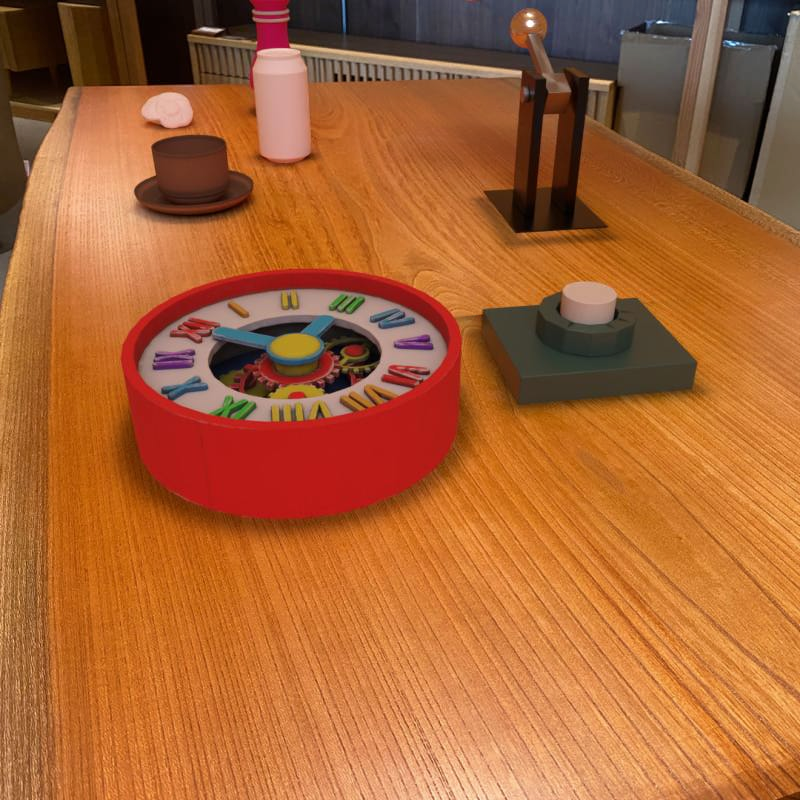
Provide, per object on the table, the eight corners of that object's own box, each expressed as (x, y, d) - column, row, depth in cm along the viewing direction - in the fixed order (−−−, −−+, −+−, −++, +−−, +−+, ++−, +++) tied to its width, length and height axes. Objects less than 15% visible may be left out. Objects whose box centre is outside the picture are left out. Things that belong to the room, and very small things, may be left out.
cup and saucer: (125, 196, 89) (115, 137, 86) (234, 179, 94) (228, 123, 91) (152, 232, 80) (142, 168, 77) (271, 212, 85) (266, 151, 82)
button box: (632, 323, 64) (640, 274, 62) (692, 390, 56) (703, 337, 54) (480, 335, 63) (483, 285, 60) (518, 406, 54) (523, 352, 52)
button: (602, 302, 59) (605, 279, 58) (621, 325, 56) (625, 301, 55) (552, 305, 59) (555, 282, 58) (570, 329, 56) (573, 305, 55)
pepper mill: (285, 104, 124) (275, -49, 114) (313, 113, 120) (305, -45, 109) (243, 111, 121) (228, -46, 110) (270, 121, 116) (257, -42, 105)
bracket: (482, 201, 88) (490, 62, 80) (565, 197, 89) (580, 59, 82) (514, 244, 78) (526, 89, 70) (606, 238, 79) (628, 85, 72)
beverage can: (250, 157, 101) (240, 51, 95) (292, 148, 105) (285, 45, 98) (279, 169, 97) (271, 59, 91) (322, 158, 101) (317, 52, 94)
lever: (503, 34, 85) (510, 0, 82) (537, 33, 85) (545, 0, 82) (534, 120, 78) (542, 87, 75) (571, 119, 78) (581, 85, 75)
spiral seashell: (194, 121, 117) (195, 94, 114) (190, 138, 113) (191, 110, 110) (142, 113, 116) (142, 85, 113) (136, 130, 112) (136, 101, 109)
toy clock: (380, 467, 39) (42, 381, 45) (382, 560, 42) (65, 468, 49) (503, 296, 55) (239, 251, 61) (498, 374, 58) (246, 323, 64)
